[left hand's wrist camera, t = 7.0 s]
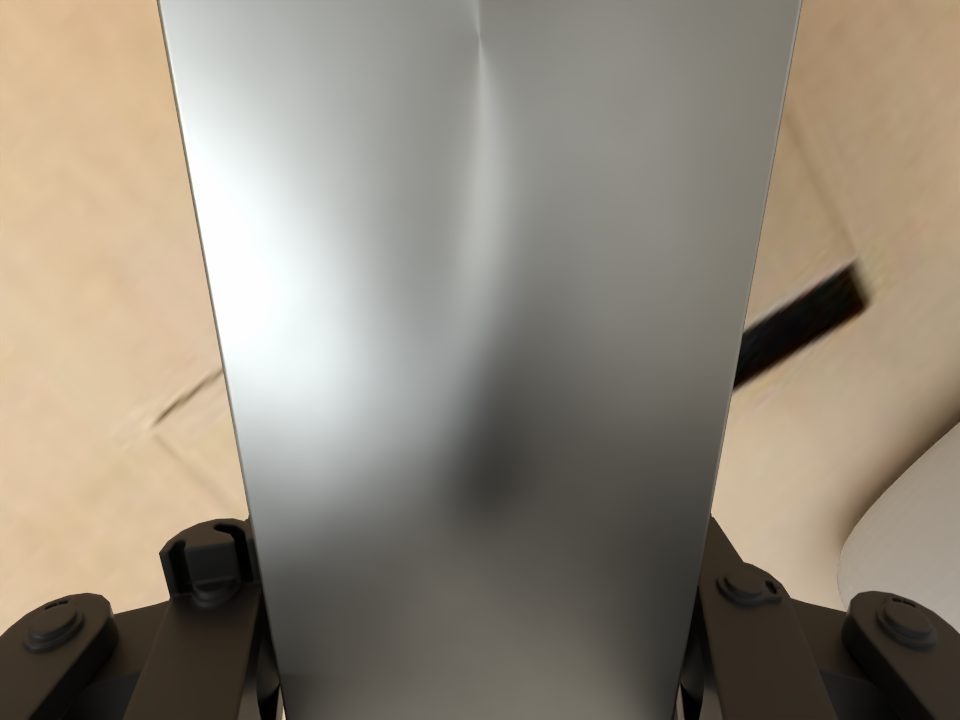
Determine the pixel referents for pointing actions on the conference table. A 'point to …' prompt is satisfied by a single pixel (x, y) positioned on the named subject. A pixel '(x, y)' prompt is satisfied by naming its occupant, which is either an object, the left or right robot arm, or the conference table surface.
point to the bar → (479, 329)
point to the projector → (912, 536)
